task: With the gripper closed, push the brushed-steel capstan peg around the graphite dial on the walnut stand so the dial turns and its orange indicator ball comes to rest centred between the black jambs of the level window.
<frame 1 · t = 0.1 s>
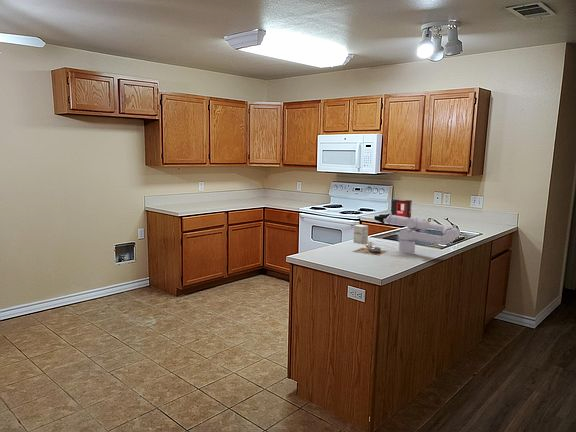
hand: (376, 216, 282), 22 cm above the countertop, tool horizontal, fingers open, 7 cm apart
stand base: (370, 253, 274), on the countertop
capstan dial: (372, 246, 275), point 4 cm above the countertop, hinge at -40.0°
level window: (360, 250, 277), resting on stand base
cleaning product box: (400, 221, 407), on the countertop
supplement box: (360, 243, 305), on the countertop
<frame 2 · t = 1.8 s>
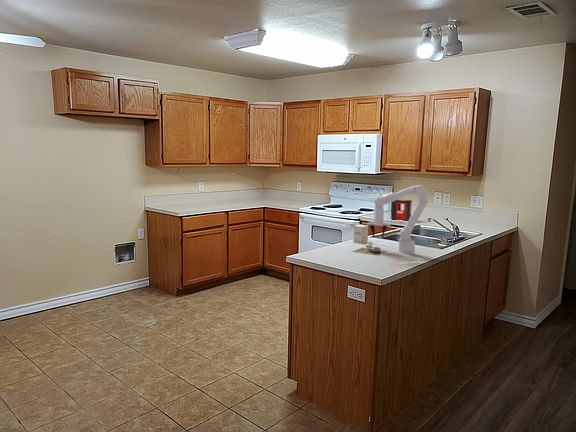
hand: (378, 237, 277), 9 cm above the countertop, tool pointing down, fingers open, 5 cm apart
nothing on the countertop moved.
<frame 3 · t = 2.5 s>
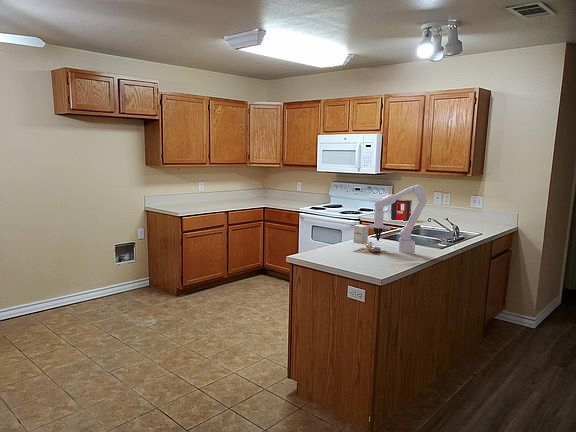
hand: (377, 240, 277), 8 cm above the countertop, tool pointing down, fingers closed
nothing on the countertop moved.
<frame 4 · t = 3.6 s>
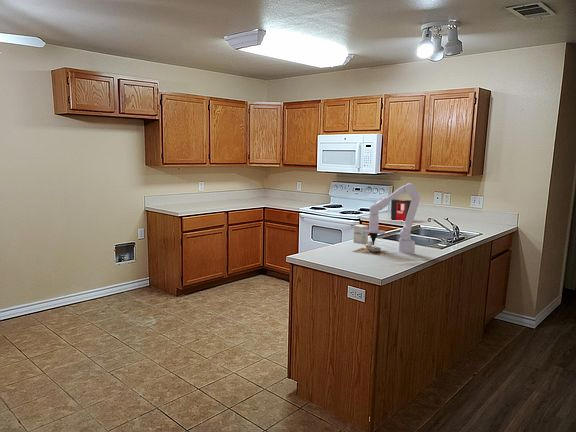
hand: (373, 244, 278), 4 cm above the countertop, tool pointing down, fingers closed
capstan dial: (371, 246, 275), point 4 cm above the countertop, hinge at -38.8°, touching gripper
everything else where it was.
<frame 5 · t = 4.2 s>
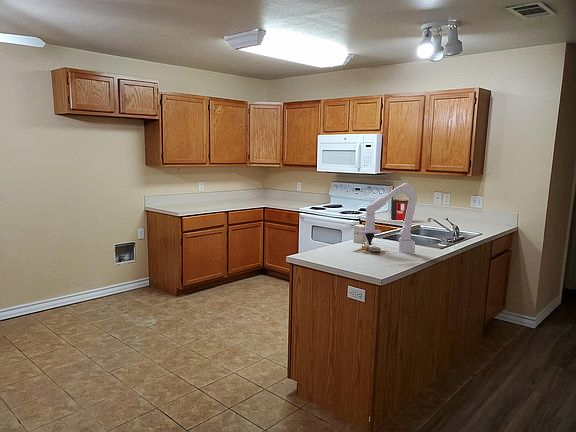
hand: (369, 245, 278), 4 cm above the countertop, tool pointing down, fingers closed, pressing on capstan dial
capstan dial: (370, 246, 275), point 4 cm above the countertop, hinge at -20.1°, touching gripper
everything else where it was.
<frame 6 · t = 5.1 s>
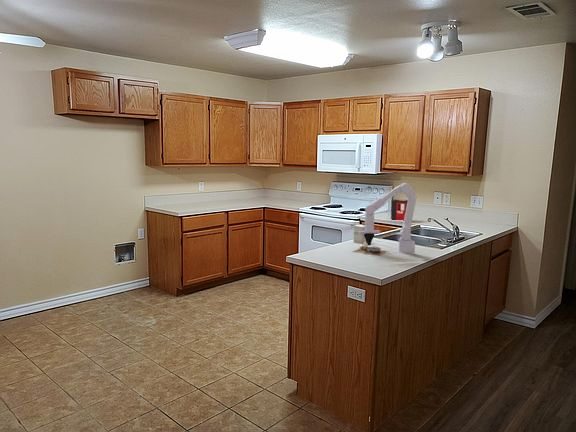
hand: (368, 245, 278), 4 cm above the countertop, tool pointing down, fingers closed
capstan dial: (369, 246, 274), point 4 cm above the countertop, hinge at -6.9°
everything else where it was.
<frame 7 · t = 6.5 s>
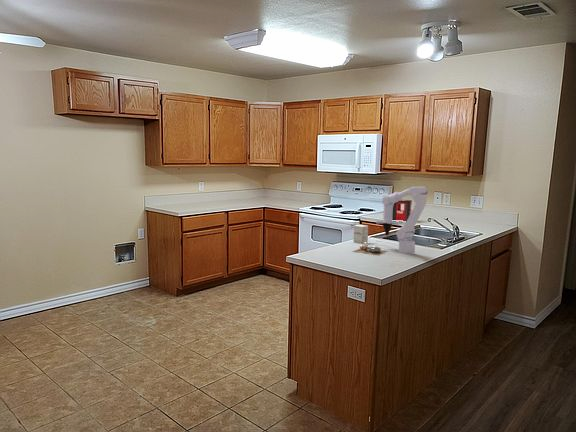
hand: (387, 235, 286), 9 cm above the countertop, tool pointing down, fingers closed
nothing on the countertop moved.
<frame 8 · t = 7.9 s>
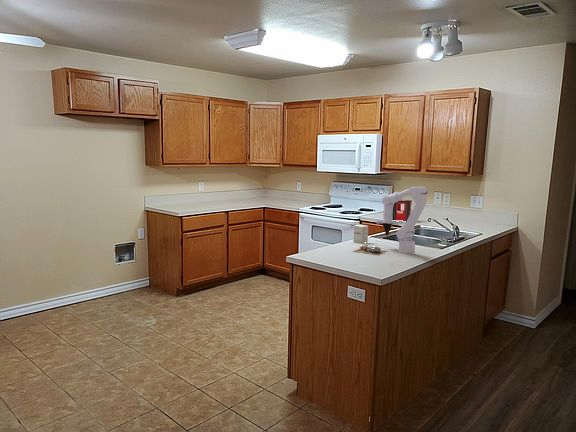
hand: (387, 235, 286), 9 cm above the countertop, tool pointing down, fingers closed
nothing on the countertop moved.
at the end: capstan dial at -7° (first picture: -40°) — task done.
